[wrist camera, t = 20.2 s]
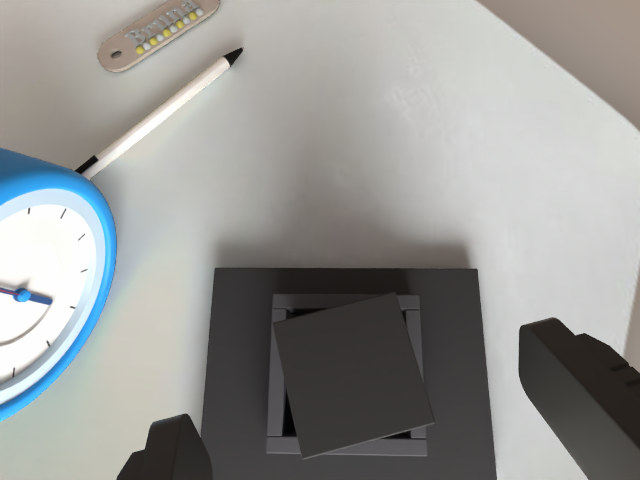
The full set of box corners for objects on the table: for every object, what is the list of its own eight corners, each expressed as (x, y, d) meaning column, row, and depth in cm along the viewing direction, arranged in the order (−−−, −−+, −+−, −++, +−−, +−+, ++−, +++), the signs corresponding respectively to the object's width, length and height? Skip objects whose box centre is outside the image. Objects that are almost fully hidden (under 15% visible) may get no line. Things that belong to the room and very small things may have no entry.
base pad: (471, 272, 28) (488, 260, 25) (490, 486, 24) (513, 502, 21) (219, 271, 28) (205, 259, 25) (203, 480, 25) (184, 495, 22)
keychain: (108, 73, 32) (87, 47, 33) (112, 79, 33) (92, 53, 33) (225, -2, 34) (203, -26, 34) (227, 4, 34) (205, -19, 35)
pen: (29, 216, 30) (18, 210, 29) (241, 48, 33) (238, 37, 32) (37, 225, 30) (25, 219, 29) (248, 55, 33) (246, 44, 32)
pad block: (375, 317, 26) (395, 290, 17) (401, 405, 25) (436, 423, 16) (293, 339, 26) (271, 322, 17) (314, 429, 24) (302, 460, 16)
